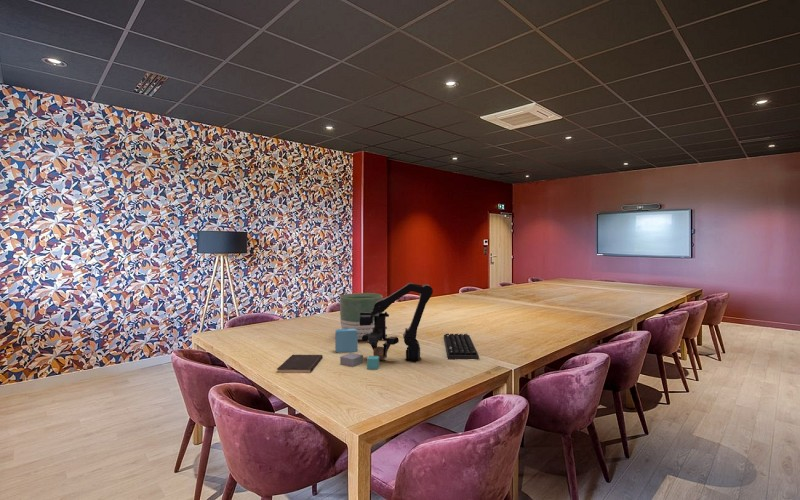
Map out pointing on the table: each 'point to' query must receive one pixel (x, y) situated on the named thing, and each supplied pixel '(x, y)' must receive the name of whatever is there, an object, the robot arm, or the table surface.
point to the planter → (357, 311)
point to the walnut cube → (379, 352)
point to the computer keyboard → (460, 347)
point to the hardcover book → (300, 363)
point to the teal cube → (373, 362)
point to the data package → (346, 340)
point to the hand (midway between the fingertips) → (380, 355)
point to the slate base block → (351, 359)
